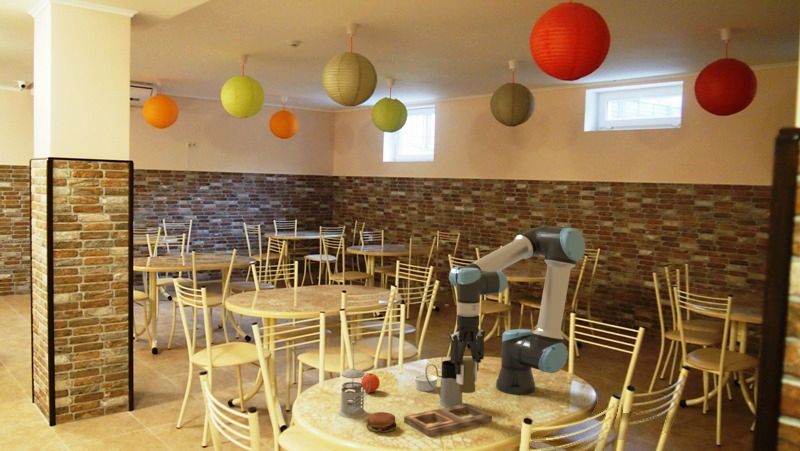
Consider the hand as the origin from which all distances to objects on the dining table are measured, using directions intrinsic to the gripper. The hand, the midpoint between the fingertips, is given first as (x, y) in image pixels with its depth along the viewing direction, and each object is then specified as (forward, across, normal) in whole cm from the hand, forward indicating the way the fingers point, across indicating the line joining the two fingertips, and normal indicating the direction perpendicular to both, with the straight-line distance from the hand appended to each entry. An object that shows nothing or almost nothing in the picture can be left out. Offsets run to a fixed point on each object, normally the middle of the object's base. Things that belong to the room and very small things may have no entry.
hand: (466, 381), depth 218 cm
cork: (+3, 0, 0) cm, 3 cm away
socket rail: (+12, -8, 0) cm, 14 cm away
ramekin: (+13, +6, +33) cm, 36 cm away
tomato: (+13, -14, +40) cm, 44 cm away
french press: (+12, -30, +23) cm, 40 cm away
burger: (+12, -30, +6) cm, 33 cm away
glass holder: (+13, +2, +16) cm, 21 cm away
